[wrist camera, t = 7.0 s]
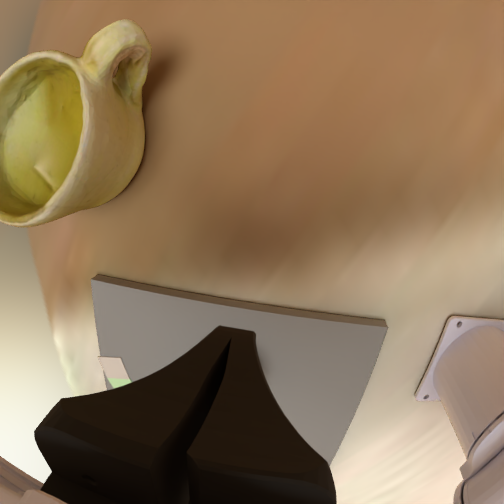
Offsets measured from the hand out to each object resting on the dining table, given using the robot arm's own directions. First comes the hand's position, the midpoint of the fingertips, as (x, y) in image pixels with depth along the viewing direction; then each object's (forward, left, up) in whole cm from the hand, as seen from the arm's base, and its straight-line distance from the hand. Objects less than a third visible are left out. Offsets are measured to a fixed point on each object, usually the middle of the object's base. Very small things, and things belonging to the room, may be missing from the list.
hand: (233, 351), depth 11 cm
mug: (+11, -8, -10) cm, 17 cm away
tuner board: (+2, +14, -10) cm, 17 cm away
